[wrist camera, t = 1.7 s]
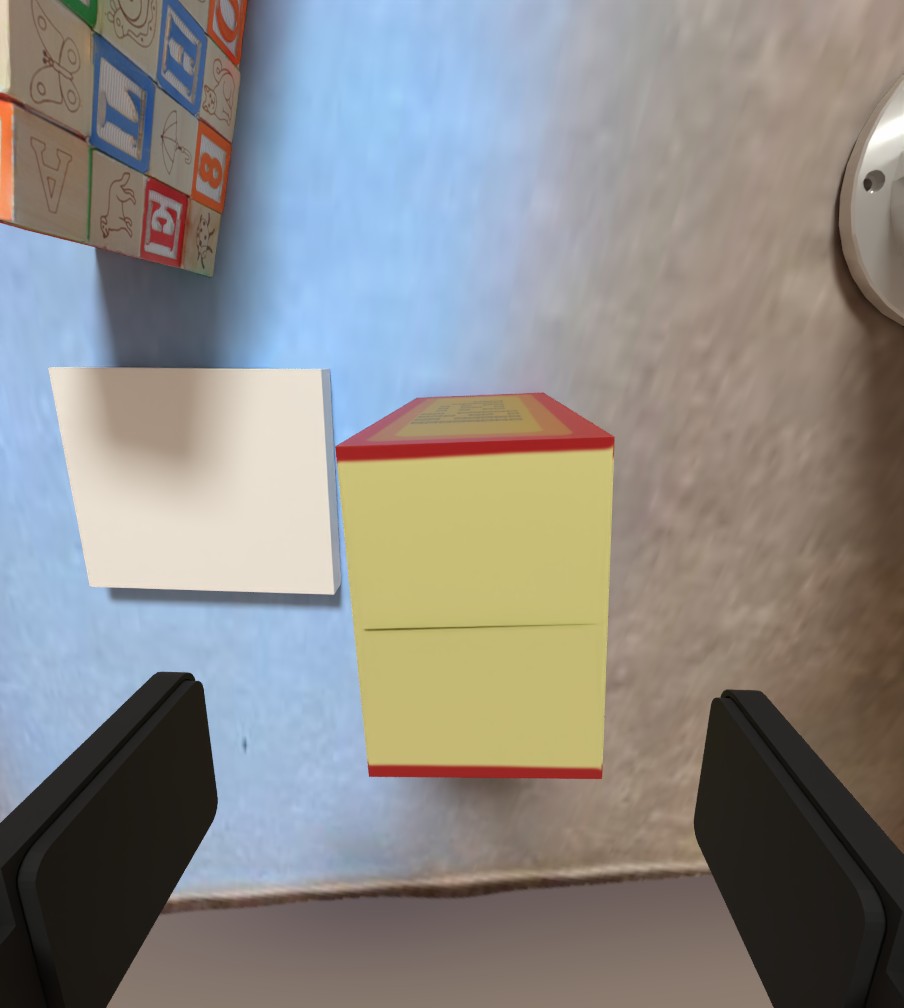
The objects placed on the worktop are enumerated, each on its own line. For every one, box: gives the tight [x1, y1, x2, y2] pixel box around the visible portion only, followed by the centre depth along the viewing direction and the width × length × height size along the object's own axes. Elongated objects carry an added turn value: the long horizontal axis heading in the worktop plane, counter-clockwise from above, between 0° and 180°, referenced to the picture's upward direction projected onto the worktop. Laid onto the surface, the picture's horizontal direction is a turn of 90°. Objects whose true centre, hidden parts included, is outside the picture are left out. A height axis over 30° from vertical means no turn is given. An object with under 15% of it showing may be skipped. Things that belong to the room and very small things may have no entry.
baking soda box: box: [335, 393, 614, 779], centre depth 21 cm, size 10×6×16 cm
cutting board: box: [48, 367, 341, 595], centre depth 29 cm, size 14×12×2 cm
